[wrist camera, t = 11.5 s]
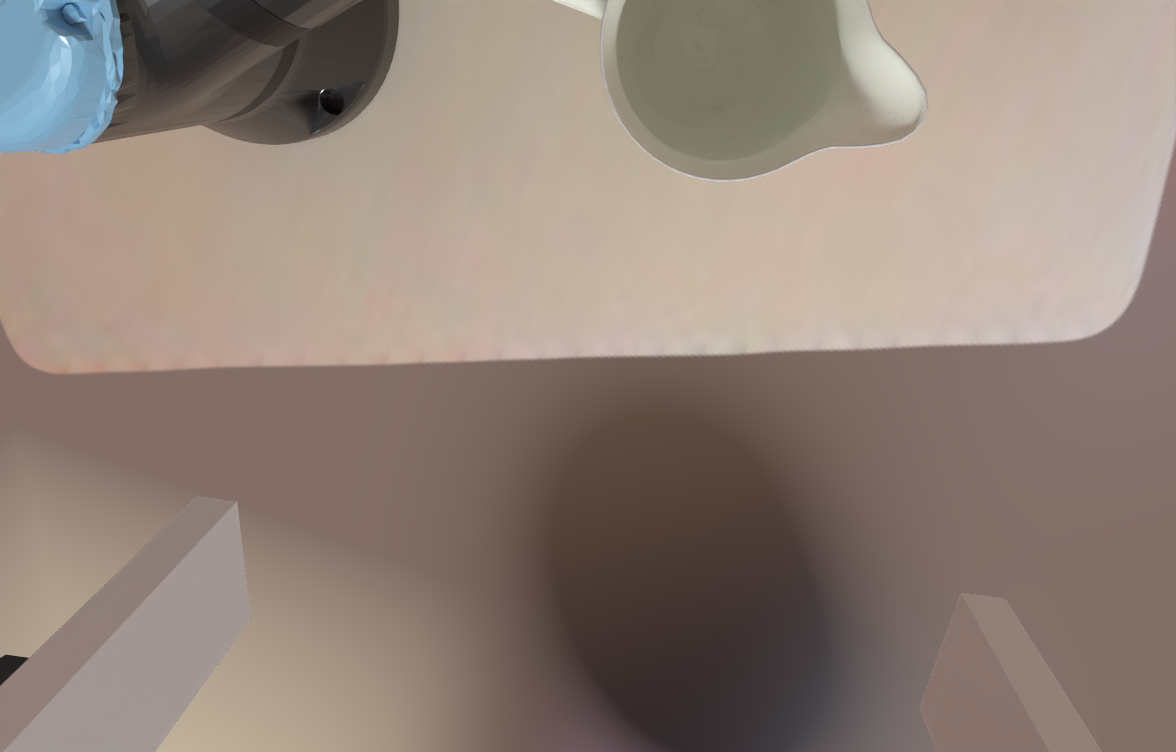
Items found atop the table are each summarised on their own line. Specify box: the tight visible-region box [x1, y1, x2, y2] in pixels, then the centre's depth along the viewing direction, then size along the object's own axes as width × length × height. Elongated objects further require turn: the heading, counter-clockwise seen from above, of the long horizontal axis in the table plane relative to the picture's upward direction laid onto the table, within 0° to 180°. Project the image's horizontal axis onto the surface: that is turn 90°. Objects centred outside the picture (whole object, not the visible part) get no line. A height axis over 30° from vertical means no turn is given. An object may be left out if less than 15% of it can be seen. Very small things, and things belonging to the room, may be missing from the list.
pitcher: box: [553, 0, 928, 181], centre depth 35 cm, size 11×18×14 cm, turn 71°
